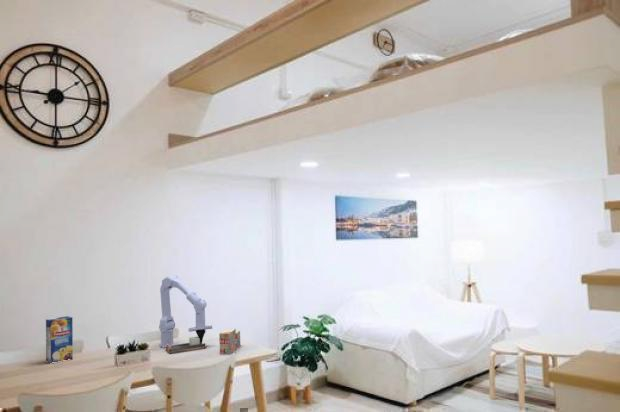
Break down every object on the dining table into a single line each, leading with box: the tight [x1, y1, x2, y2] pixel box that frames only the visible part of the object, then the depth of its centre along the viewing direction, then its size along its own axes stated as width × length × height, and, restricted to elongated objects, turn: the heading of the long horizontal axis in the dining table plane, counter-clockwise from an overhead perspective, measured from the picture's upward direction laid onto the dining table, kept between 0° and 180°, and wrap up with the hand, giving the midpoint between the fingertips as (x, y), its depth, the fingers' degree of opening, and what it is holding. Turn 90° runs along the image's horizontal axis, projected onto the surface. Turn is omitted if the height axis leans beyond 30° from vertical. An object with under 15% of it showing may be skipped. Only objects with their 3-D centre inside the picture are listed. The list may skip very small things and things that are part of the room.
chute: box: [164, 341, 207, 355], centre depth 297 cm, size 12×22×4 cm, turn 120°
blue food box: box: [45, 315, 74, 364], centre depth 280 cm, size 12×8×24 cm, turn 138°
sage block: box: [188, 336, 200, 345], centre depth 300 cm, size 5×5×5 cm
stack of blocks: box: [219, 328, 241, 355], centre depth 294 cm, size 21×6×12 cm, turn 171°
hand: (200, 341), depth 302 cm, fingers closed
